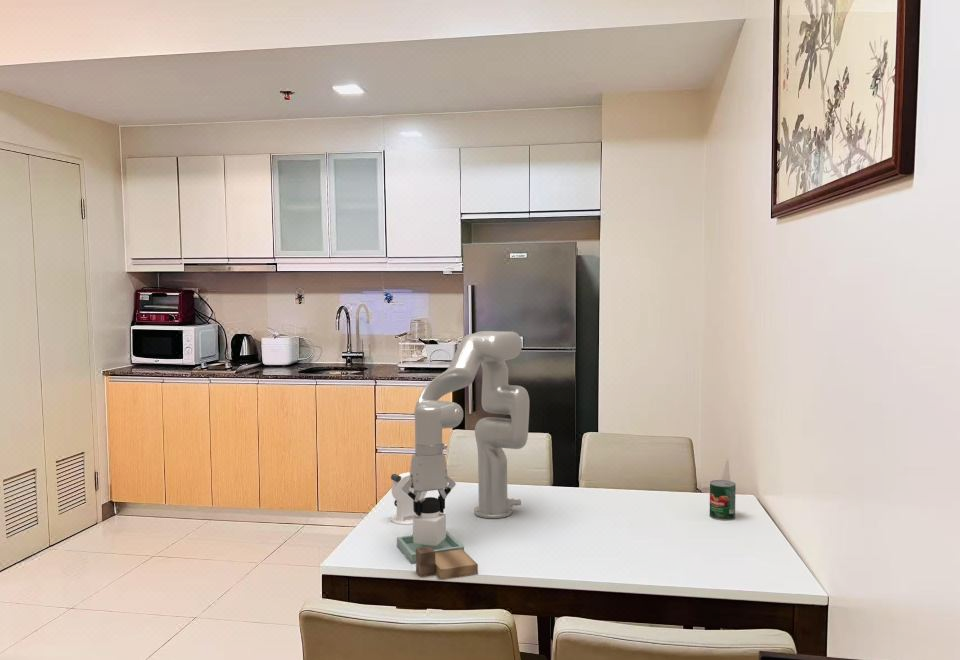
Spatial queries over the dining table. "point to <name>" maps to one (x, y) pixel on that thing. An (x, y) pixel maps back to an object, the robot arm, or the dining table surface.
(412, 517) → the panda figurine
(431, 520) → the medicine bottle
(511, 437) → the robot arm
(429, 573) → the dark brown wooden block
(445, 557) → the tan wooden block
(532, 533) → the dining table surface
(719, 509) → the canned tomato
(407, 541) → the tray
